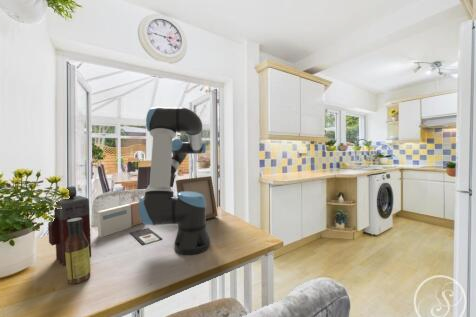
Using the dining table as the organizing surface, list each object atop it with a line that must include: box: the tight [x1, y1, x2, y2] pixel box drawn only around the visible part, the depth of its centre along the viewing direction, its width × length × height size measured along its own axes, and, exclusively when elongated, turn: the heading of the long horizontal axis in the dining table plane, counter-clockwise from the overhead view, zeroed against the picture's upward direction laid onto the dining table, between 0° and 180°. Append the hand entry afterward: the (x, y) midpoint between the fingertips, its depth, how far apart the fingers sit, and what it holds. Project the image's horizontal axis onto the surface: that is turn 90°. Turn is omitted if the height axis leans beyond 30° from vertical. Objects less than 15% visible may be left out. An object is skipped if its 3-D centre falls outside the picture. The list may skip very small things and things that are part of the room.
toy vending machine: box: [47, 185, 92, 267], centre depth 84 cm, size 9×11×28 cm
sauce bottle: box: [65, 218, 92, 285], centre depth 71 cm, size 7×6×20 cm
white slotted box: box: [96, 203, 133, 238], centre depth 112 cm, size 16×3×12 cm, turn 150°
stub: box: [128, 200, 144, 227], centre depth 123 cm, size 8×3×12 cm, turn 150°
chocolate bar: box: [129, 227, 163, 246], centre depth 106 cm, size 9×1×18 cm
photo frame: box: [175, 175, 218, 220], centre depth 130 cm, size 15×22×25 cm
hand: (153, 194), depth 132 cm, fingers open, 13 cm apart
